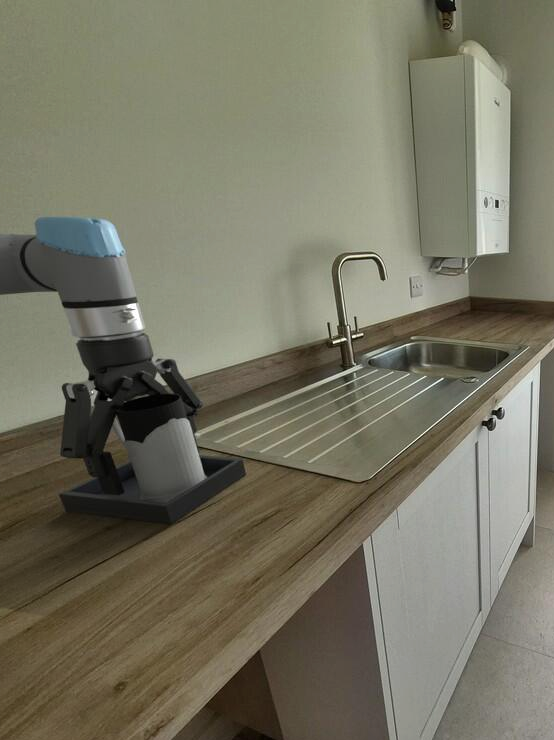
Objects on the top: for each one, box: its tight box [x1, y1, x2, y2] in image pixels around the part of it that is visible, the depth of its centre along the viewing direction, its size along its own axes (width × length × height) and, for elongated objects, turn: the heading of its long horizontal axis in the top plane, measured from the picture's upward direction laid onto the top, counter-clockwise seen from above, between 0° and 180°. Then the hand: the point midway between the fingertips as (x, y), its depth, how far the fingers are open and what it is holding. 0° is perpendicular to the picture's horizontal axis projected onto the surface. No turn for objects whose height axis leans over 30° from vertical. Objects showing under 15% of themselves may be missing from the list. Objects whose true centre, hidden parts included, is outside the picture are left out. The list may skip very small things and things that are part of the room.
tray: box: [58, 454, 247, 525], centre depth 65 cm, size 19×14×3 cm
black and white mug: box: [112, 393, 207, 502], centre depth 63 cm, size 9×14×15 cm, turn 73°
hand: (155, 471), depth 64 cm, fingers open, 11 cm apart
